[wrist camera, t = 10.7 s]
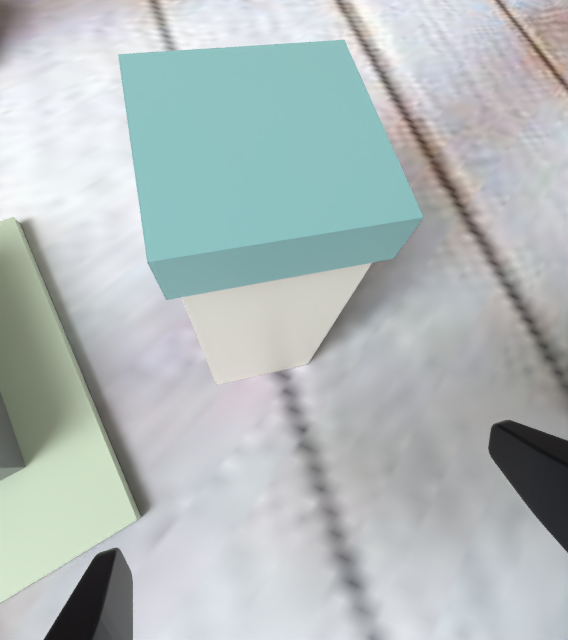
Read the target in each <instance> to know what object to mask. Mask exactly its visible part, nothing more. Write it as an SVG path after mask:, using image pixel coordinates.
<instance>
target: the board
mask: <svg viewBox="0 0 568 640" xmlns="http://www.w3.org/2000/svg"><path fill="white" fill-rule="evenodd" d="M0 392H1V395H2V398H3V400H4V403H5V406H6V409H7V412H8V415H9V418H10V421H11V424H12V427H13V430H14V433H15V436H16V439H17V442H18V445H19V448H20V451H21V454H22V457H23V460H24V462H25V465H26V468H24V469H22V470H20V471H18V472H16V473H14V474H12V475H10V476H8V477H6V478H5V479H3V480H1V481H0V603H1V602H3V601H5V600H6V599H8V598H9V597H11V596H13V595H14V594H16V593H18V592H19V591H21V590H23V589H24V588H26V587H28V586H29V585H31V584H33V583H34V582H36V581H38V580H39V579H41V578H42V577H44V576H46V575H47V574H49V573H51V572H52V571H54V570H56V569H57V568H59V567H61V566H62V565H64V564H66V563H67V562H69V561H71V560H72V559H74V558H75V557H77V556H79V555H80V554H82V553H84V552H85V551H87V550H89V549H90V548H92V547H94V546H95V545H97V544H99V543H100V542H102V541H104V540H105V539H107V538H108V537H110V536H112V535H113V534H115V533H117V532H118V531H120V530H122V529H123V528H125V527H127V526H128V525H130V524H132V523H133V522H135V521H137V520H138V519H140V518H141V516H140V513H139V511H138V509H137V506H136V504H135V501H134V499H133V496H132V494H131V492H130V489H129V487H128V484H127V482H126V480H125V477H124V475H123V472H122V470H121V467H120V465H119V463H118V460H117V458H116V455H115V453H114V450H113V448H112V446H111V443H110V441H109V438H108V436H107V433H106V431H105V429H104V426H103V424H102V421H101V419H100V417H99V414H98V412H97V409H96V407H95V404H94V402H93V400H92V397H91V395H90V392H89V390H88V387H87V385H86V383H85V380H84V378H83V375H82V373H81V370H80V368H79V366H78V363H77V361H76V358H75V356H74V353H73V351H72V349H71V346H70V344H69V341H68V339H67V337H66V334H65V332H64V329H63V327H62V324H61V322H60V320H59V317H58V315H57V312H56V310H55V307H54V305H53V303H52V300H51V298H50V295H49V293H48V290H47V288H46V286H45V283H44V281H43V278H42V276H41V274H40V271H39V269H38V266H37V264H36V261H35V259H34V257H33V254H32V252H31V249H30V247H29V244H28V242H27V240H26V237H25V235H24V232H23V230H22V227H21V225H20V223H19V222H18V221H17V220H16V219H15V218H14V217H12V218H9V219H6V220H4V221H1V222H0Z"/></svg>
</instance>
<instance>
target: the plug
mask: <svg viewBox="0 0 568 640" xmlns="http://www.w3.org/2000/svg"><path fill="white" fill-rule="evenodd" d="M118 56H119V63H120V70H121V77H122V84H123V92H124V99H125V106H126V113H127V120H128V127H129V135H130V142H131V149H132V156H133V163H134V170H135V177H136V185H137V192H138V199H139V206H140V213H141V220H142V227H143V235H144V242H145V249H146V256H147V262H148V264H149V266H150V268H151V270H152V272H153V274H154V276H155V278H156V280H157V282H158V284H159V286H160V288H161V290H162V292H163V294H164V296H165V298H166V300H169V299H174V298H180V297H181V298H182V300H183V303H184V305H185V308H186V310H187V313H188V315H189V318H190V320H191V323H192V325H193V328H194V330H195V333H196V335H197V338H198V340H199V343H200V345H201V348H202V350H203V353H204V355H205V358H206V360H207V363H208V365H209V368H210V370H211V373H212V375H213V378H214V380H215V383H216V385H220V384H224V383H229V382H233V381H238V380H242V379H246V378H251V377H255V376H260V375H264V374H268V373H273V372H277V371H282V370H286V369H291V368H295V367H299V366H304V365H307V364H308V363H309V361H310V360H311V358H312V357H313V355H314V354H315V352H316V350H317V349H318V347H319V346H320V344H321V343H322V341H323V339H324V338H325V336H326V335H327V333H328V332H329V330H330V328H331V327H332V325H333V324H334V322H335V321H336V319H337V317H338V316H339V314H340V313H341V311H342V310H343V308H344V306H345V305H346V303H347V302H348V300H349V299H350V297H351V295H352V294H353V292H354V291H355V289H356V288H357V286H358V284H359V283H360V281H361V280H362V278H363V277H364V275H365V273H366V272H367V270H368V269H369V267H370V266H371V264H372V263H373V262H379V261H384V260H390V259H394V258H395V256H396V255H397V254H398V252H399V251H400V249H401V248H402V247H403V245H404V244H405V243H406V241H407V240H408V238H409V237H410V236H411V234H412V233H413V232H414V230H415V229H416V228H417V226H418V225H419V223H420V222H421V221H422V219H423V218H424V217H423V214H422V212H421V210H420V208H419V206H418V203H417V201H416V199H415V197H414V194H413V192H412V190H411V188H410V185H409V183H408V181H407V179H406V177H405V174H404V172H403V170H402V168H401V165H400V163H399V161H398V159H397V157H396V154H395V152H394V150H393V148H392V145H391V143H390V141H389V139H388V137H387V134H386V132H385V130H384V128H383V125H382V123H381V121H380V119H379V116H378V114H377V112H376V110H375V108H374V105H373V103H372V101H371V99H370V96H369V94H368V92H367V90H366V88H365V85H364V83H363V81H362V79H361V76H360V74H359V72H358V70H357V68H356V65H355V63H354V61H353V59H352V56H351V54H350V52H349V50H348V47H347V45H346V43H345V41H344V40H336V41H320V42H305V43H289V44H274V45H258V46H242V47H227V48H211V49H196V50H180V51H165V52H149V53H133V54H118Z"/></svg>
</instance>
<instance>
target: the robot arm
mask: <svg viewBox="0 0 568 640" xmlns="http://www.w3.org/2000/svg"><path fill="white" fill-rule="evenodd" d="M488 449H489V453H490V455H491V457H492V459H493V460H494V462H495V463H496V464H497V466H498V467H499V468H500V470H501V471H502V472H503V474H504V475H505V476H506V478H507V479H508V480H509V482H510V483H511V484H512V486H513V487H514V488H515V490H516V491H517V493H518V494H519V495H520V497H521V498H522V499H523V501H524V502H525V503H526V505H527V506H528V507H529V508H530V510H531V511H532V512H533V513H534V515H535V516H536V517H537V518H538V519H539V521H540V522H541V523H542V524H543V525H544V526H545V528H546V529H547V530H548V531H549V532H550V533H551V534H552V535H553V537H554V538H555V539H556V540H557V541H558V542H559V543H560V544H561V546H562V547H563V548H564V549H565V550H566V551H567V552H568V441H567V440H564V439H561V438H559V437H556V436H553V435H550V434H547V433H545V432H542V431H539V430H536V429H534V428H531V427H528V426H525V425H522V424H520V423H517V422H514V421H511V420H504V421H501V422H498V423H495V424H493V426H492V427H491V433H490V440H489V447H488ZM44 640H133V580H132V574H131V570H130V568H129V566H128V564H127V562H126V560H125V558H124V556H123V554H122V552H121V550H120V549H119V548H112V549H109V550H106V551H103V552H100V553H98V554H97V555H96V556H95V557H94V559H93V560H92V562H91V563H90V565H89V567H88V568H87V570H86V572H85V573H84V575H83V576H82V578H81V580H80V581H79V583H78V585H77V586H76V588H75V589H74V591H73V593H72V594H71V596H70V598H69V599H68V601H67V603H66V604H65V606H64V607H63V609H62V611H61V612H60V614H59V616H58V617H57V619H56V620H55V622H54V624H53V625H52V627H51V629H50V630H49V632H48V634H47V635H46V637H45V638H44Z"/></svg>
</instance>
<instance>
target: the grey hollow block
mask: <svg viewBox="0 0 568 640" xmlns="http://www.w3.org/2000/svg"><path fill="white" fill-rule="evenodd" d="M24 468H26V465H25V462H24V460H23V457H22V454H21V451H20V448H19V445H18V442H17V439H16V436H15V433H14V430H13V427H12V424H11V421H10V418H9V415H8V412H7V409H6V406H5V403H4V400H3V398H2V395H1V392H0V481H1V480H3V479H5V478H6V477H8V476H10V475H12V474H14V473H16V472H18V471H20V470H22V469H24Z"/></svg>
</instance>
